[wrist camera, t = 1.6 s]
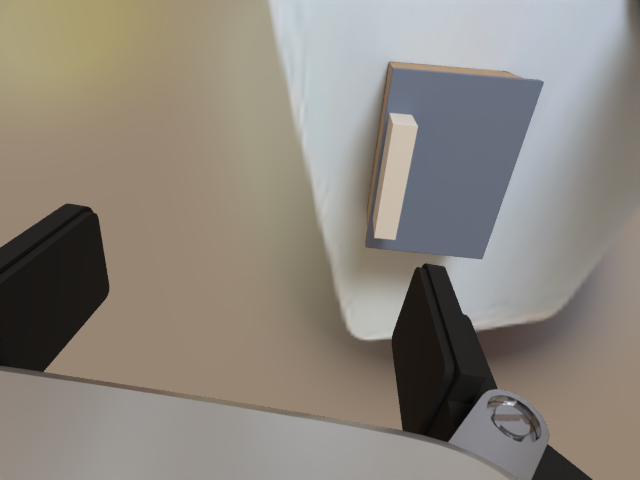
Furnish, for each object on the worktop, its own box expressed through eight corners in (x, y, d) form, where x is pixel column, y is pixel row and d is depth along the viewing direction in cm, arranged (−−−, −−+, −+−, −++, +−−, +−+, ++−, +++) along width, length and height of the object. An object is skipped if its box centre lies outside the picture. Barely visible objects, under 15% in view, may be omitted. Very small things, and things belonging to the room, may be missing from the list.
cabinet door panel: (538, 79, 25) (566, 90, 21) (479, 253, 32) (493, 281, 28) (392, 67, 25) (397, 75, 22) (365, 242, 32) (366, 268, 29)
